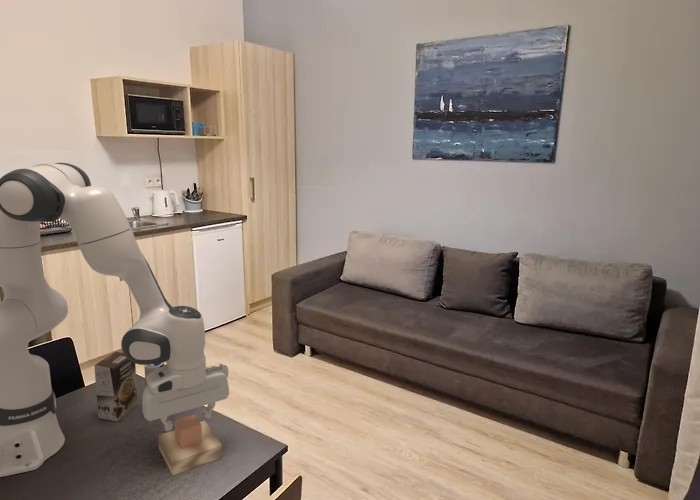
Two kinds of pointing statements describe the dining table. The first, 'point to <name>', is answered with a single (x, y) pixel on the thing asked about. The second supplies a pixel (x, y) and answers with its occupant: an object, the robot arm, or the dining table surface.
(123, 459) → the dining table surface
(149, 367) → the beverage can
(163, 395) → the robot arm
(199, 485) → the dining table surface
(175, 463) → the birch block
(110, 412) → the coffee box
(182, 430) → the terracotta cube
